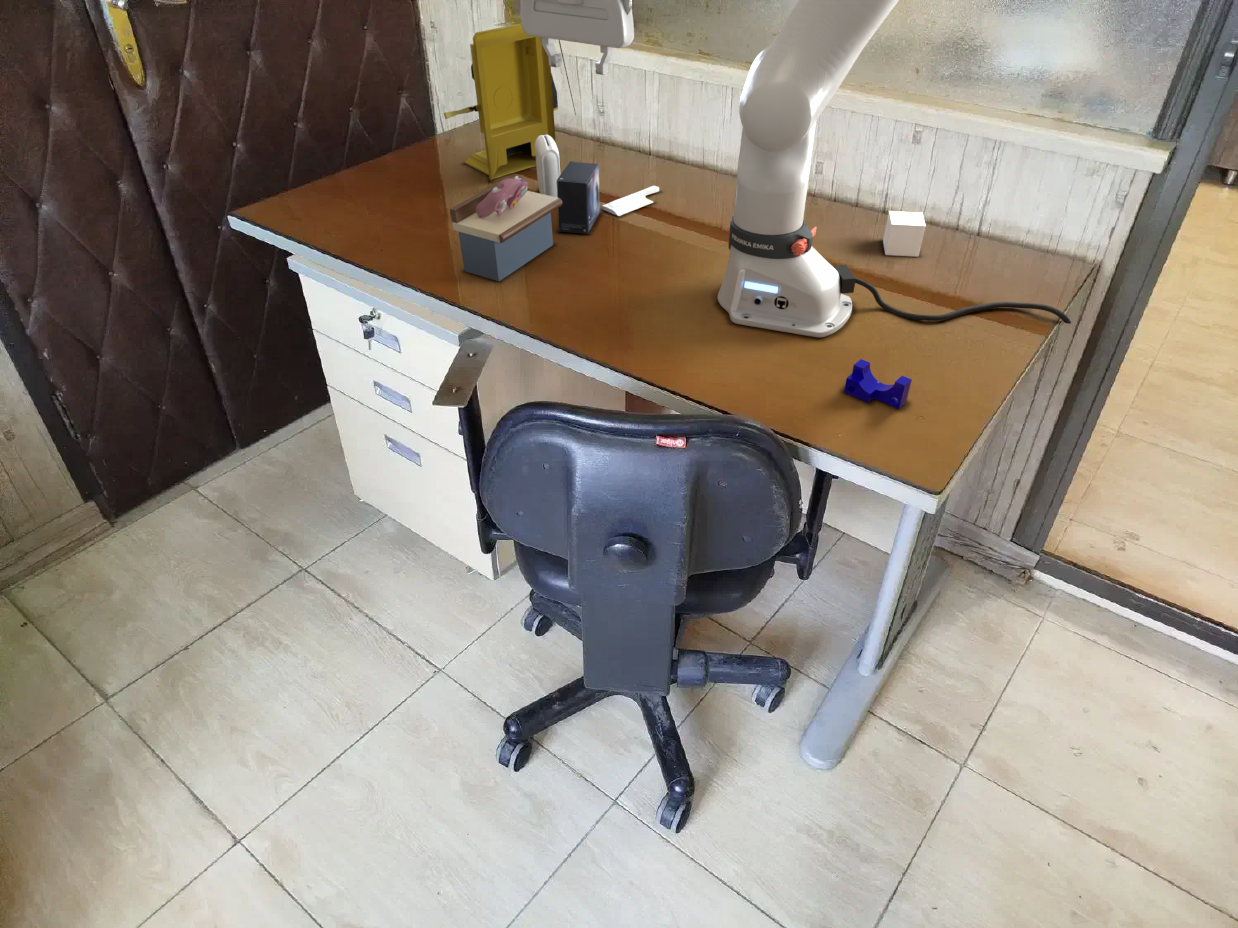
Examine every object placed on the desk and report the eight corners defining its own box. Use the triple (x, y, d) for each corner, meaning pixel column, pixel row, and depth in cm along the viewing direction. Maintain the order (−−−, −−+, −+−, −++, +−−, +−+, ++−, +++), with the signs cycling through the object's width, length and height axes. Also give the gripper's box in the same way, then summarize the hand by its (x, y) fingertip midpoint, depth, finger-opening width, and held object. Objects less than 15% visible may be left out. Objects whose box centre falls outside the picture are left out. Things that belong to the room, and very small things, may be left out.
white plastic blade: (670, 196, 176) (670, 191, 175) (618, 217, 168) (618, 212, 168) (653, 189, 179) (653, 184, 178) (601, 209, 171) (601, 204, 170)
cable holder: (843, 392, 120) (848, 369, 118) (856, 381, 122) (860, 358, 120) (894, 413, 116) (899, 390, 114) (905, 402, 118) (911, 379, 116)
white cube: (915, 242, 157) (922, 212, 153) (918, 257, 153) (926, 226, 149) (882, 241, 158) (888, 210, 154) (885, 255, 154) (891, 224, 150)
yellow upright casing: (549, 139, 204) (540, 2, 185) (584, 154, 196) (578, 13, 176) (438, 171, 189) (415, 26, 170) (471, 189, 181) (450, 39, 161)
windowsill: (565, 246, 158) (561, 186, 151) (508, 286, 147) (501, 222, 139) (518, 234, 163) (512, 174, 155) (459, 271, 151) (449, 209, 143)
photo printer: (536, 188, 180) (531, 130, 172) (556, 186, 181) (552, 128, 173) (543, 207, 173) (539, 147, 165) (564, 205, 173) (560, 145, 165)
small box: (590, 235, 162) (588, 182, 155) (557, 232, 163) (554, 180, 156) (601, 213, 170) (600, 162, 163) (571, 211, 171) (568, 160, 164)
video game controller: (491, 229, 146) (501, 199, 140) (472, 213, 146) (481, 182, 141) (525, 209, 152) (536, 179, 147) (506, 194, 153) (517, 164, 147)
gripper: (641, -22, 128) (641, 73, 137) (534, -33, 137) (540, 58, 145) (620, -14, 124) (621, 83, 133) (511, -26, 132) (519, 66, 141)
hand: (578, 70), depth 139 cm, fingers open, 8 cm apart
